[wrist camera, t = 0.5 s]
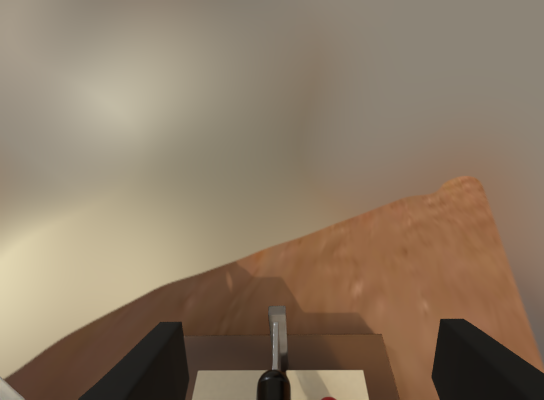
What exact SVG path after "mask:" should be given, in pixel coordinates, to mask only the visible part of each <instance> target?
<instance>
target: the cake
mask: <svg viewBox="0 0 544 400" xmlns="http://www.w3.org/2000/svg"><path fill="white" fill-rule="evenodd" d="M266 371H267V370H224V371H198V373H197V378H196V383H195V387H194V392H193V397H192V400H256V392H257V383H258V380H259V378H260V377H261V375H262V374H263V373H264V372H266ZM286 376H287V377H288V379H289V381H290V384H291V400H369V397H368V393H367V388H366V383H365V378H364V373H363V370H286Z"/></svg>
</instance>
